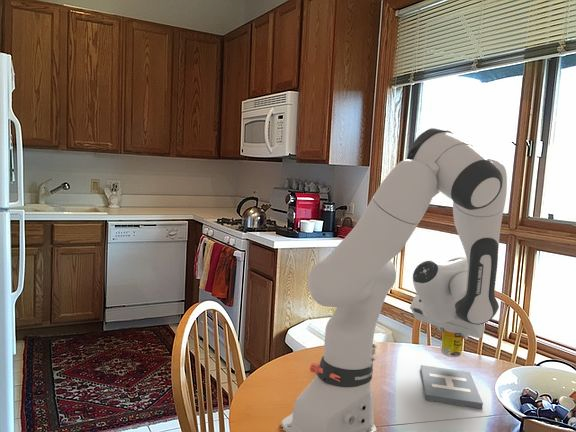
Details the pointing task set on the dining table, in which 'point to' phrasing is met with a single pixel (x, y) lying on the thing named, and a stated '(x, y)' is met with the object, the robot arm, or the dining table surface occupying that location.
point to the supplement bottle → (451, 343)
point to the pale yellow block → (374, 347)
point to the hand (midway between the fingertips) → (453, 333)
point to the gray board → (450, 387)
